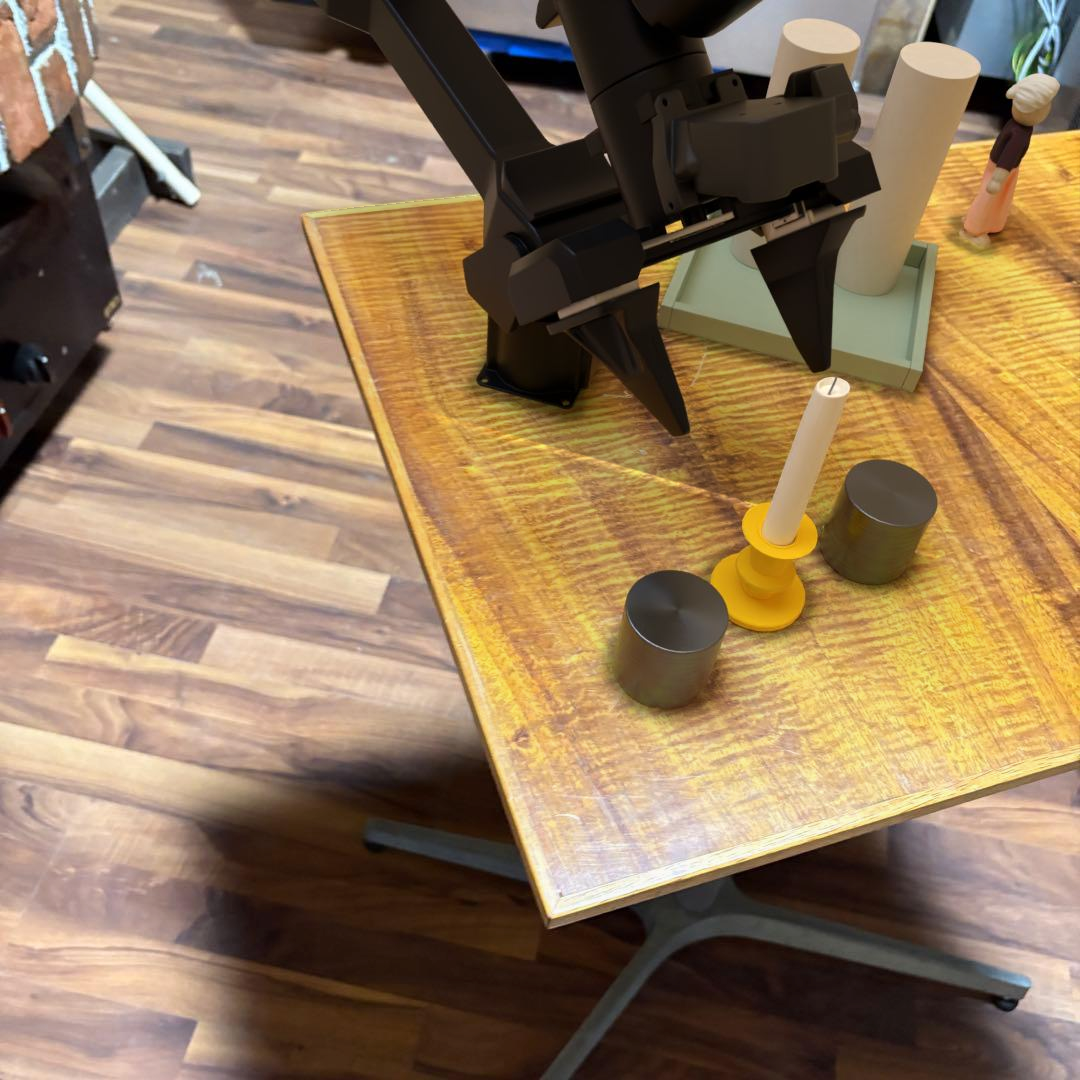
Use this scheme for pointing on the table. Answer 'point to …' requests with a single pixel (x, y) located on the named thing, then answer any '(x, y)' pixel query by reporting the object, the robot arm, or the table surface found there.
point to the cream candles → (883, 144)
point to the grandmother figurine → (1008, 157)
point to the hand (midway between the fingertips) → (754, 401)
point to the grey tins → (701, 613)
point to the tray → (756, 325)
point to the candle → (782, 525)
